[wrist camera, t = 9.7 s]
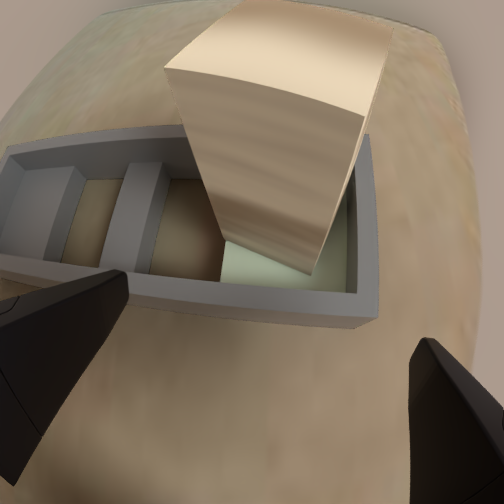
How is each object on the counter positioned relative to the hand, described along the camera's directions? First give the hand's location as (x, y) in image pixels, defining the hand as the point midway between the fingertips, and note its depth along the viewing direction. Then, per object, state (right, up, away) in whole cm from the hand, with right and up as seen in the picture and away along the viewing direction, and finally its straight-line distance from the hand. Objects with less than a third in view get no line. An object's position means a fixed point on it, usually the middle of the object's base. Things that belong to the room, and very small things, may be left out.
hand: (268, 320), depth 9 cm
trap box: (-8, +3, +11) cm, 14 cm away
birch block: (+1, +4, +9) cm, 9 cm away
